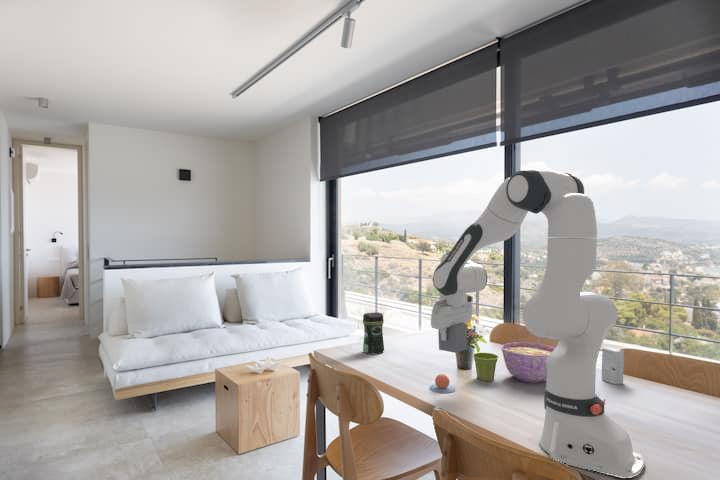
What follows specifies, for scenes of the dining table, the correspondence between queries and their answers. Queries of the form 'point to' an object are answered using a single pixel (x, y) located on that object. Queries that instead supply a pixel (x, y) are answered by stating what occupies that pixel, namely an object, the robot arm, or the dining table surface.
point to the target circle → (446, 390)
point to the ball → (442, 381)
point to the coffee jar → (373, 333)
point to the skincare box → (612, 365)
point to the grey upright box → (454, 338)
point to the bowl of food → (526, 360)
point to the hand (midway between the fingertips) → (451, 338)
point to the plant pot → (485, 365)
